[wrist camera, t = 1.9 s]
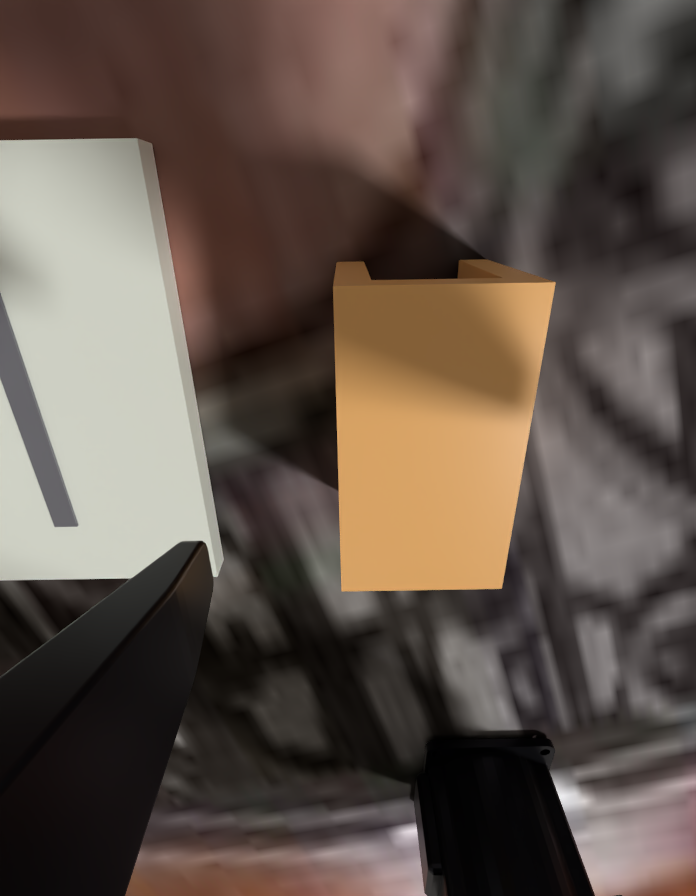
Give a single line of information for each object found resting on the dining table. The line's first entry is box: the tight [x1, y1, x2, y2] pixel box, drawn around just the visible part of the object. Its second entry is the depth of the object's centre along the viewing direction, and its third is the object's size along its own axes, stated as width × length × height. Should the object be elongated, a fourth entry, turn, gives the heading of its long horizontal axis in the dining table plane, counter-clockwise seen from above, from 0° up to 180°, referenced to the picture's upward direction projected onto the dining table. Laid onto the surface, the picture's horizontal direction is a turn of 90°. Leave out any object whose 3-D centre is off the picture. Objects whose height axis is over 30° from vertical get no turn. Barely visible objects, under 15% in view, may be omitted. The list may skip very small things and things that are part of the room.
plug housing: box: [333, 259, 556, 591], centre depth 13 cm, size 8×4×5 cm, turn 1°
